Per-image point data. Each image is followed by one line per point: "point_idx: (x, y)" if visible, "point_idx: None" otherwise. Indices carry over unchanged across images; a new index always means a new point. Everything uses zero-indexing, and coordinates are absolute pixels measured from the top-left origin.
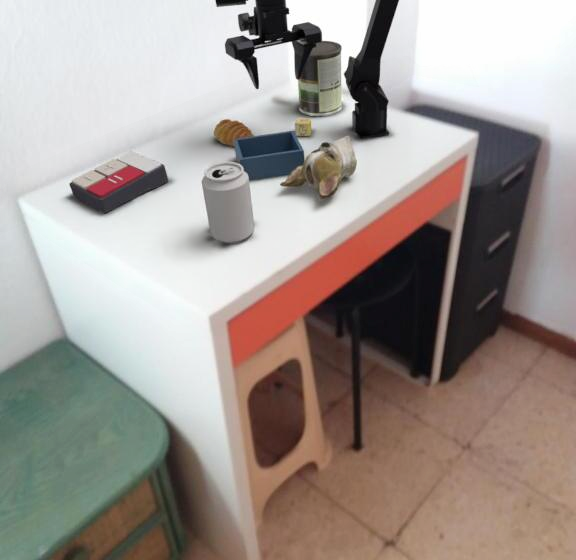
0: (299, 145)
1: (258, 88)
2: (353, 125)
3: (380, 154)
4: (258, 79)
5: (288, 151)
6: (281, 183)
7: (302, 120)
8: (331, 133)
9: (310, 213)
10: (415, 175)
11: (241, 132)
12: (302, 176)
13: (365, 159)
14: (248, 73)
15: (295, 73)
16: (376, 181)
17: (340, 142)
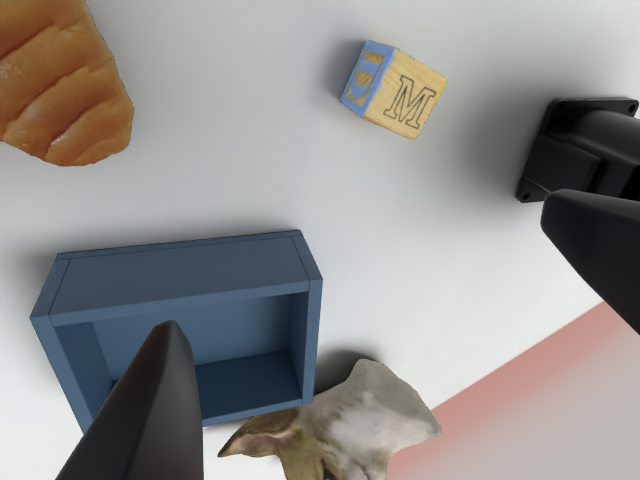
0: (309, 380)
1: (189, 355)
2: (546, 160)
3: (497, 287)
4: (200, 464)
5: (266, 409)
6: (221, 456)
7: (404, 93)
8: (468, 119)
9: (265, 468)
10: (493, 368)
11: (52, 117)
12: (276, 453)
13: (455, 305)
14: (61, 475)
15: (580, 219)
16: (422, 384)
17: (410, 439)
